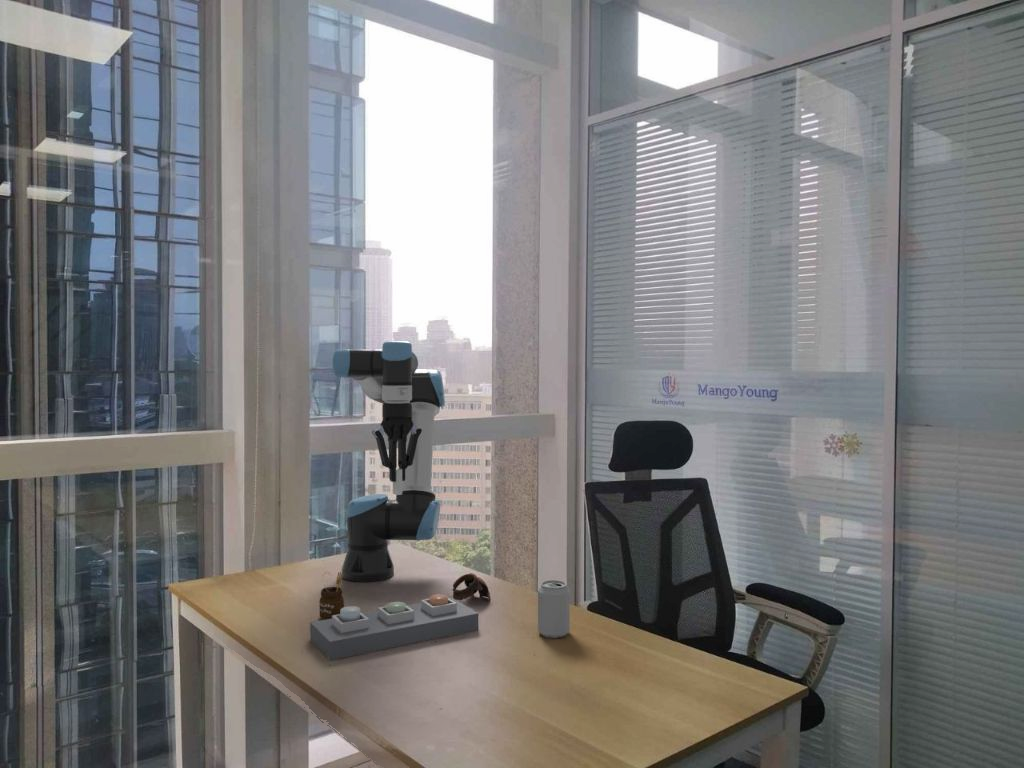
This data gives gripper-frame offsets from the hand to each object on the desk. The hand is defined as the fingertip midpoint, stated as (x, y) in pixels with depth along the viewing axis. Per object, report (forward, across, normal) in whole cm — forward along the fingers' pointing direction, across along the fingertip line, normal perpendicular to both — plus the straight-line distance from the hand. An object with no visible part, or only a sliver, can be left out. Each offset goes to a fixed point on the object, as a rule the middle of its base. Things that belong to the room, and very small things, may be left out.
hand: (397, 493), depth 201 cm
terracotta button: (+24, +3, -18) cm, 30 cm away
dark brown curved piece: (+30, +19, -4) cm, 36 cm away
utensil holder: (+30, -17, +1) cm, 34 cm away
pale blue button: (+24, -19, -18) cm, 35 cm away
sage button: (+24, -8, -18) cm, 31 cm away
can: (+30, +24, -36) cm, 52 cm away
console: (+29, -8, -18) cm, 35 cm away
